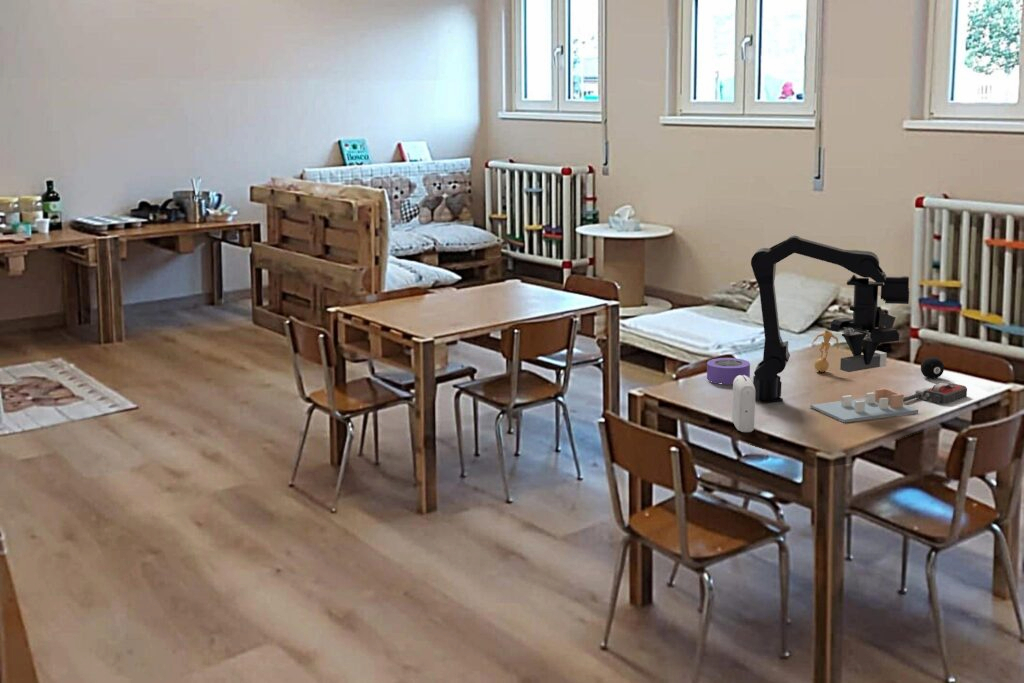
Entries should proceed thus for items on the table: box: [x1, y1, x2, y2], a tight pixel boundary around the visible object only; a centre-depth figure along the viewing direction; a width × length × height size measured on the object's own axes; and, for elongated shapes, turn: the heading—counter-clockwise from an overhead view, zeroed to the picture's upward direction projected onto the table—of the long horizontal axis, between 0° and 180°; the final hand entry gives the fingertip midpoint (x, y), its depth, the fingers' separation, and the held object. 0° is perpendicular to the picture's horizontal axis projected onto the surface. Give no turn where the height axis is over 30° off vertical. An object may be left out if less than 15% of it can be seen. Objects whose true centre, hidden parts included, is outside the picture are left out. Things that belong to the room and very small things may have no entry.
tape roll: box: [706, 357, 751, 385], centre depth 316 cm, size 12×12×5 cm
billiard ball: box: [920, 356, 945, 380], centre depth 315 cm, size 6×6×6 cm
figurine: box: [811, 329, 839, 373], centre depth 323 cm, size 8×6×12 cm
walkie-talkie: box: [903, 381, 968, 405], centre depth 295 cm, size 9×4×20 cm
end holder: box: [874, 387, 905, 408], centre depth 288 cm, size 3×7×3 cm, turn 20°
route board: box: [809, 391, 919, 424], centre depth 285 cm, size 22×14×3 cm, turn 110°
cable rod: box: [839, 350, 887, 373], centre depth 287 cm, size 12×3×3 cm, turn 116°
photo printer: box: [731, 375, 756, 433], centre depth 273 cm, size 10×4×12 cm, turn 179°
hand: (862, 363), depth 287 cm, fingers closed on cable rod, 3 cm apart
